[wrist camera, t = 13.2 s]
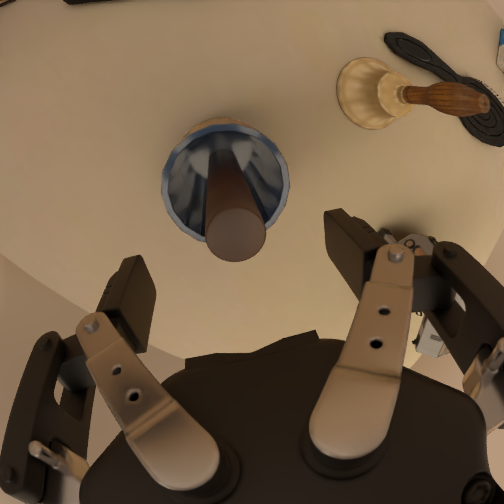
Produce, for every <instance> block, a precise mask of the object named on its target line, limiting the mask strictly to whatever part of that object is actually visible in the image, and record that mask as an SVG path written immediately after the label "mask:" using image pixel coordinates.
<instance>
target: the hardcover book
mask: <svg viewBox="0 0 504 504" xmlns="http://www.w3.org/2000/svg"><path fill="white" fill-rule="evenodd" d="M14 1H15V0H0V7H1V6H3V5H6V4H8V3H11V2H14Z"/></svg>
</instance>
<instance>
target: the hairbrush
mask: <svg viewBox="0 0 504 504" xmlns="http://www.w3.org/2000/svg"><path fill="white" fill-rule="evenodd" d="M396 39H403V40H396ZM384 41H385V42H386V44H387V45H388V46H389V47H390V48H391V50H392V51H393V52H394V53H395V54H397V55H399V56H400V57H402V58H404V59H405V60H407V61H409V62H410V63H412V64H414V65H417V66H419V67H421V68H424V69H426V70H428V71H431V72H433V73H434V74H436V75H437V76H438V77H440V78H441V79H442V80H444V81H445V82H456V83H460V84H464V85H466V86H468V87H470V88H472V89H474V90H475V91H477V92H479V93H482V94H484V95H486V96H487V98H488V99H489V102H490V109H489V111H488V112H487V113H480V114H475V115H472V116H466V117H459V118H460V119H461V121H462V123H463V125H464V127H465V128H466V129H467V130H468V131H469V132H470V133H471V134H472V135H473V136H474V137H476V138H477V139H479V140H480V141H482V142H483V143H486V144H489V145H492V146H496V147H502V146H504V106H503V105H502V104H501V103H502V102H500V101H499V100H498V98H497V97H496V95H494V94H493V93H492V92H491V91H490V90H488V89H487V88H486V87H485V86H484V84H482V81H481V82H479V81H480V80H478V81H477V79H475V78H471V77H461V76H459V75H457V74H456V73H455V72H454V71H453V70H452V69H451V68H450V67H449V66H448V65H447V64H446V63H445V62H443V61H442V60H441V59H440V58H439V57H438V56H437V55H436V54H435V53H434V52H433V51H432V50H430V49H429V48H428V47H427V46H426V45H425V44H424V43H423V42H421V41H419V40H417V39H415V38H413V37H411V36H409V35H407V34H405V33H403V32H389V33H386V34H385V37H384ZM423 62H424V63H423ZM426 63H427V64H426ZM466 82H469V83H471V84H468V83H466ZM486 86H487V85H486ZM487 87H489V86H487ZM494 92H495V91H494ZM497 96H498V95H497ZM500 99H501V98H500ZM503 103H504V102H503ZM480 117H481V118H480ZM482 118H483V119H482ZM484 119H485V120H484ZM479 123H480V124H479ZM481 124H482V125H481ZM483 125H484V126H483ZM485 126H487V127H485ZM475 128H476V129H477V130H476V129H475ZM481 132H482V133H481ZM483 133H485V134H488V135H490V136H488V135H485V134H483Z"/></svg>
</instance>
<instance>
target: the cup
mask: <svg viewBox="0 0 504 504" xmlns="http://www.w3.org/2000/svg"><path fill="white" fill-rule="evenodd" d="M220 149H226V150H229V151H231V152H232V153H234V155H235V156H236V158H237V160H238V163H239V165H240V167H241V170H242V172H243V174H244V177H245V179H246V181H247V184H248V186H249V188H250V191H251V193H252V195H253V198H254V200H255V202H256V205H257V207H258V210H259V212H260V214H261V217H262V219H263V221H264V224H265V227H266V230H267V229H268V228H269V227H270V226H272V225H273V224H274V223H275V222H276V220H277V219H278V217H279V215H280V214H281V212H282V210H283V209H284V207H285V205H286V202H287V197H288V192H289V188H290V181H289V174H288V167H287V163H286V161H285V159H284V158H283V156H282V154H281V153H280V151H279V149H278V147H277V146H276V144H274V143H273V142H272V141H271V140H269V139H268V138H267V137H266V136H264V135H263V134H262V133H261V132H259V131H258V130H256V129H255V128H253V127H251V126H250V125H248V124H246V123H244V122H242V121H238V120H235V119H232V118H212V119H209V120H207V121H204V122H202V123H200V124H198V125H196V126H195V127H194V128H193V129H191V130H190V131H189V132H188V133H187V134H186V135H185V136H184V137H183V138H182V140H181V141H180V142H179V143H178V144H177V146H176V147H175V148H174V149H173V151H172V152H171V154H170V156H169V158H168V160H167V163H166V165H165V167H164V169H163V172H162V188H161V193H162V197H163V200H164V204H165V207H166V210H167V213H168V214H169V216H170V217H171V218H172V220H173V221H174V222H175V223H176V225H177V226H178V227H179V228H180V229H181V230H182V231H183V232H185V233H187V234H188V235H190V236H191V237H193V238H195V239H196V240H199V241H201V242H206V240H205V220H206V196H207V177H208V161H209V158H210V156H211V155H212V154H213V153H214V152H215V151H217V150H220Z"/></svg>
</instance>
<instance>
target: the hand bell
mask: <svg viewBox="0 0 504 504" xmlns="http://www.w3.org/2000/svg"><path fill="white" fill-rule="evenodd" d="M337 96H338V100H339V103H340V106H341V108H342V110H343V111H344V113H345V114H346V116H347V117H348V118H349V119H350V120H351V121H352V122H353V123H355V124H356V125H358V126H360V127H362V128H365V129H371V130H376V129H381V128H384V127H386V126H388V125H389V124H391V123H392V122H393V121H394V120H395V119H396V118H397V117H402V116H405V115H407V114H408V113H410V111H411V110H412V109H413V107H414V104H422V105H429V106H431V107H433V108H434V109H436V110H438V111H440V112H442V113H445V114H449V115H453V116H459V117H466V116H472V115H475V114H480V113H487V112H488V111H489V109H490V102H489V99H488V98H487V96H486V95H484V94H482V93H479V92H477V91H475V90H474V89H472V88H470V87H468V86H466V85H464V84H460V83H456V82H440V83H436V84H433V85H431V86H429V87H417V86H412V84H411V83H410V81H409V80H408V79H407V78H406V77H405V76H403V75H402V74H399V73H396V72H393V71H392V70H391V69H390V68H389V67H388V66H387V65H385V64H384V63H382V62H381V61H379V60H376V59H373V58H358V59H355V60H353V61H351V62H349V63H348V64H347V65H346V66H345V67H344V68H343V69H342V71H341V73H340V75H339V78H338V81H337Z"/></svg>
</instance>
